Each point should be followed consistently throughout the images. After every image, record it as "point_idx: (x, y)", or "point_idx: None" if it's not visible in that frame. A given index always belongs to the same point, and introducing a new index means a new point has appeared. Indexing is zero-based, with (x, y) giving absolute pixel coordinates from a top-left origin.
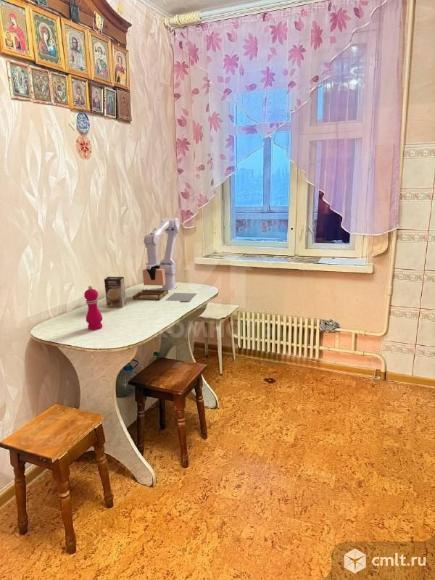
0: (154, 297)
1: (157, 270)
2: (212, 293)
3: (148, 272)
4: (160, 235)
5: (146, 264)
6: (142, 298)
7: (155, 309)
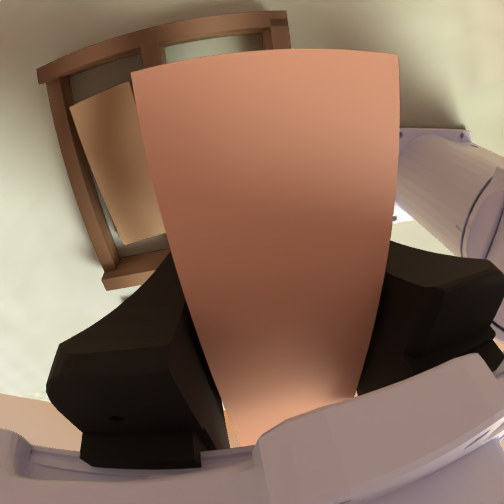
0: (119, 230)
1: (236, 431)
2: None
3: (119, 310)
4: None
5: (259, 459)
6: (62, 152)
7: (9, 316)
